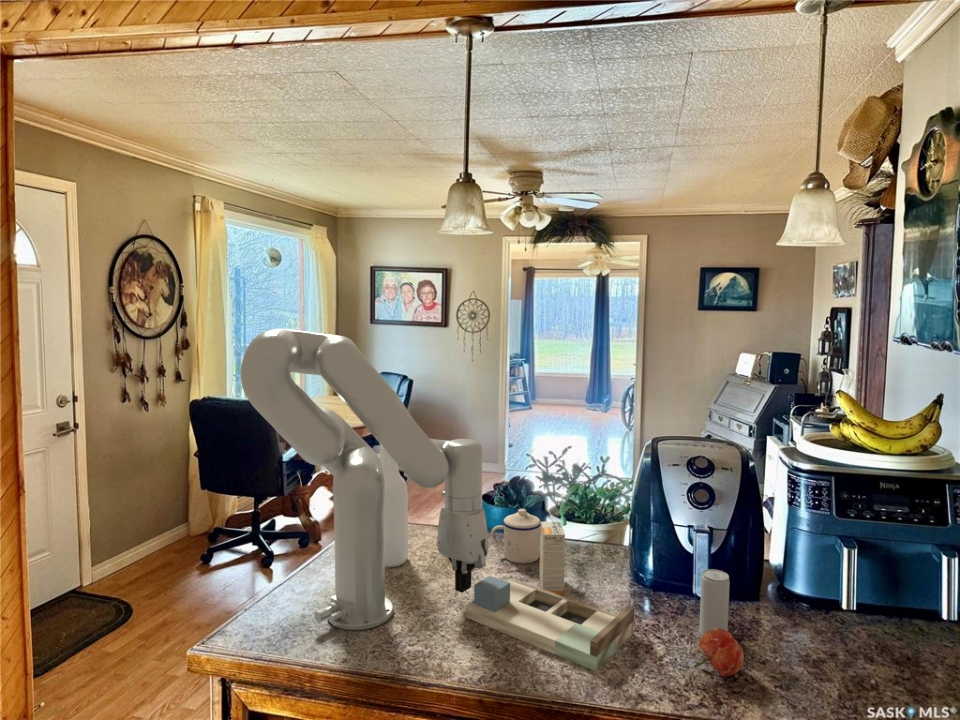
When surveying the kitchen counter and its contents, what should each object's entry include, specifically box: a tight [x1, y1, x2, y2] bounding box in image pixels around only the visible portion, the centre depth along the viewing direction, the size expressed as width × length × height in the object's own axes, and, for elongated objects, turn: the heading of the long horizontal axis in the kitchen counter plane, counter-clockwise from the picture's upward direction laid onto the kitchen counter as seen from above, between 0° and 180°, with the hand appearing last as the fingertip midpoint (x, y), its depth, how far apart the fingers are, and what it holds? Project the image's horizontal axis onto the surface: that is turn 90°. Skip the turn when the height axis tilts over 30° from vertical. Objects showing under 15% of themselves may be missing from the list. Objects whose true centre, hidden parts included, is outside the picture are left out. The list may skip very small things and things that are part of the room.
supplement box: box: [539, 521, 566, 595], centre depth 131 cm, size 8×5×13 cm, turn 179°
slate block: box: [473, 575, 510, 612], centre depth 119 cm, size 5×5×4 cm
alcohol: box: [379, 443, 409, 568], centre depth 143 cm, size 9×9×30 cm
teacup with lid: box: [491, 508, 542, 564], centre depth 147 cm, size 12×9×12 cm
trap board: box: [465, 577, 635, 672], centre depth 115 cm, size 15×28×5 cm, turn 52°
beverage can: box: [699, 568, 731, 637], centre depth 111 cm, size 5×5×12 cm
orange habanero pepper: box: [693, 628, 747, 678], centre depth 101 cm, size 7×7×10 cm
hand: (463, 589), depth 123 cm, fingers closed
